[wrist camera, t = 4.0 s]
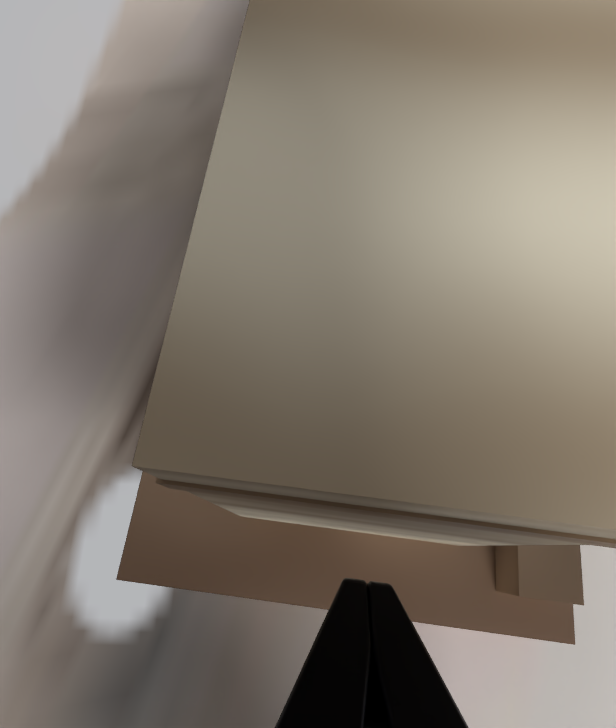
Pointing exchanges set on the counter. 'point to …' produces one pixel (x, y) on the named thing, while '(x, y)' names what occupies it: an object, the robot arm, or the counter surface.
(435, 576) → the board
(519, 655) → the counter surface
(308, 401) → the tea box
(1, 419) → the counter surface
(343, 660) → the robot arm
